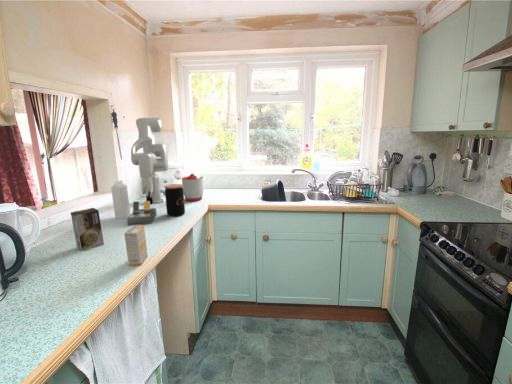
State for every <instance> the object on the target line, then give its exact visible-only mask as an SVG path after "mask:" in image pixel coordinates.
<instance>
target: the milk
mask: <svg viewBox="0 0 512 384" xmlns="http://www.w3.org/2000/svg"><path fill="white" fill-rule="evenodd" d="M110 189H111V197H112V202H113V203H112V205H113V210H114V218H115V219H118V220H119V219H120V220H126V219H127V218H128V217H129V216H130V215H131V209H130V199H129V192H128V186H127V185H126V184H125V183H123V180H118V181H115V182H114V185H112V186H111V187H110Z"/></svg>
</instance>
